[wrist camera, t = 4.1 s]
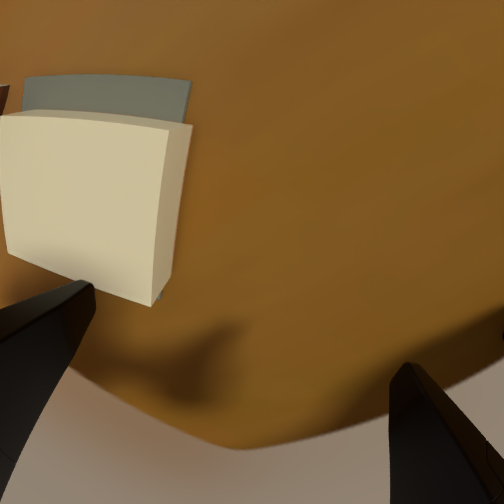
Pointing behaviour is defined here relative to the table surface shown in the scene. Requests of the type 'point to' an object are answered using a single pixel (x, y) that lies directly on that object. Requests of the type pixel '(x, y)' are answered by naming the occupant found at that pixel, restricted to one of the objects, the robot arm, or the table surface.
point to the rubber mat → (109, 96)
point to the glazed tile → (94, 196)
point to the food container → (3, 97)
